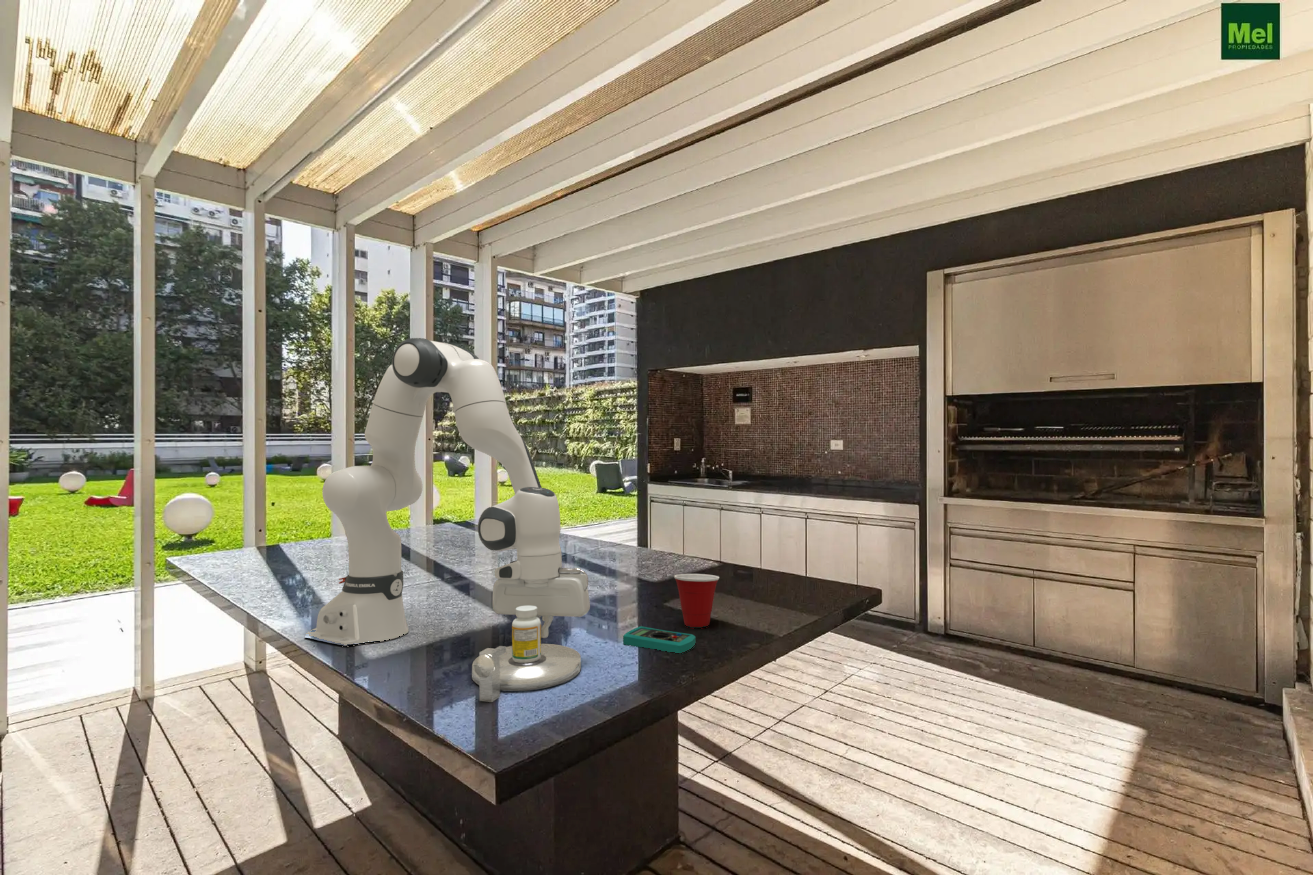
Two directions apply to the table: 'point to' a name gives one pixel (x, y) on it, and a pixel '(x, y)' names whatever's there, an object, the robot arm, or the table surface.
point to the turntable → (537, 669)
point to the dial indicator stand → (489, 672)
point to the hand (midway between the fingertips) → (542, 637)
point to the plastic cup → (696, 597)
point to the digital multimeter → (659, 639)
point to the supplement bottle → (526, 635)
